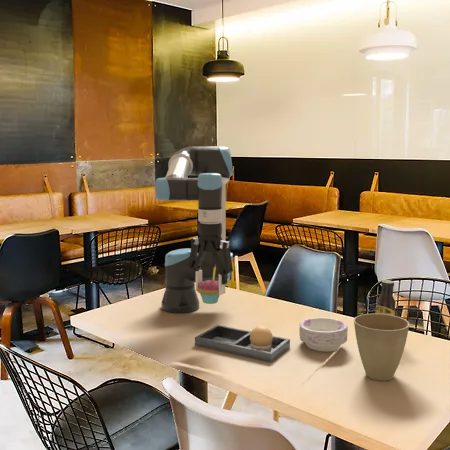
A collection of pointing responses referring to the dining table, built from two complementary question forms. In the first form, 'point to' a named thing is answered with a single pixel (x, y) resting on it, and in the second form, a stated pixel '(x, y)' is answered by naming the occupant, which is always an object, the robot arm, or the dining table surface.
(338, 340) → the paper bowls
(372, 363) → the plant pot
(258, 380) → the dining table surface
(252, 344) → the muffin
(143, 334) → the dining table surface
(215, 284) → the cupcake
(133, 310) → the dining table surface
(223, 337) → the divided tray
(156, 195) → the robot arm
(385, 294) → the sauce bottle
